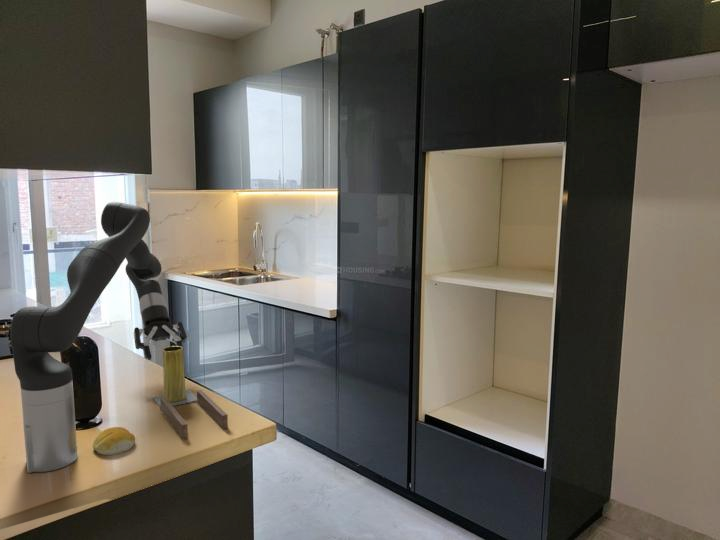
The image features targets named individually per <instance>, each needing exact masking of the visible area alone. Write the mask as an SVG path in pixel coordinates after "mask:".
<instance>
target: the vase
mask: <svg viewBox="0 0 720 540" xmlns="http://www.w3.org/2000/svg"><path fill="white" fill-rule="evenodd" d="M184 363H185V361H184V348H183V346H182V347H181V346H176V345H171V346H166V347H164V348H162V364H163V366H162V367H163V377H162V378H163V380H162V381H163V395H164V396H163V397H165V398H166V399H167V400H168V401H169V402H178V401H182V400H184V399H185V398H186V392H185V391H186V381H185V380H186V377H185V364H184Z"/></svg>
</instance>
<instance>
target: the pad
mask: <svg viewBox="0 0 720 540" xmlns="http://www.w3.org/2000/svg"><path fill="white" fill-rule="evenodd" d="M185 392H186V398H185V399H184V400H182V401H178V402H170V404H171V405H172V406H174V407H176V406H175V405H179V406H181V405H180V404H183V405H187V404H186V403H188V404H192V403H191V402H193V403H195V402H196V403H197V395H195V394H194V393H193V392H192V390H190V389H185ZM163 396H164V394H162V395H161V394H160V395H156V396H153V397H152V398H154V399H153V400H154V402H155V403H156V402H157V403H156V404H157V405H158V407H159V406H160V407H161V403H160V398H163ZM160 407H159V408H160Z"/></svg>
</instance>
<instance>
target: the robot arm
mask: <svg viewBox="0 0 720 540" xmlns="http://www.w3.org/2000/svg"><path fill="white" fill-rule="evenodd" d="M150 215H151V214H150V213H149V211H148V210H147V209H145V208H144V207H142V206H141V207H140V206H138V205H134V204H129V203H125V202H119V201H111V202H110V201H109V202H108V203H107V204H106V205H105V206H104V207H103V210H102V213H101V217H100V223H101V224H100V225H101V228H102V230H103V232H104V233H105V235H106V236H108V237H105V238H101V239H100V240H96V241H94V242H92V243H89V244H87V245H86V246H85V247H83V248H82V249H81V250H80V251H79V252H78V253H77V255H76V256H75V257H73V259H72V261H71V262H70V264H69V265H68V268H67V271H66V278H67V283H68V288H69V292H70V293H69V295H68V296H67V298H66V299H65V300H64V301H63V302H62V303H61V304H60V305H58V306H24V307H21V308H19V310H17V311H16V312H15V314H14V315H13V317H12V320H11V323H10V331H9V333H10V344H11V351H12V352H11V353H12V358H13V363H14V371H15V374H16V377H17V379H18V380H19V385H20V395H21V406H22V424H23V433H24V434H23V435H24V447H25V448H24V449H25V457H26V458H25V460H26V469H27V473H28V474H31V473H36V472H37V473H43V472H46V473H47V472H51V471H56V470H59V469H62V468H65V467H67V466H69V465H71V464H72V463H74V462H75V461H76V460H77V459H78V442H77V441H78V440H77V428H76V412H75V399H74V398H75V397H74V384H73V371H72V368H71V366H70V365H69V364H67V363H65V362H62V361H60V360H58V359H56V358H54V357H53V356H52V355H51V354H50V353H59V352H60V353H61V352H64V351H66V350H68V349H70V347H71V346H73V344H74V343H75V341H76V340H77V338H78V336H79V335H80V333H81V330H82V329H83V327H84V325H85V323H86V321H87V319H88V317H89V316H90V313H91V311H92V309H93V308H94V306H95V305H96V302H97V301H98V300H99V298H100V296H101V295H102V293H103V292H104V290H105V289H106V287H108V285H109V283H110V282H111V281H112V279H113V278H114V277H115V275H116V273H118V270H119V268H120V267H121V265H122V264H123V262H124V261H125V259H126V261H127V263H126V265H125V273H126V275H127V277H128V279H129V280H130V282H131V283H132V284H133V286H134V288H135V290H136V293H137V297H138V301H139V313H140V315H141V319H142V324H143V328H139V327H137V326H136V327H134V331H133V339H134V346H135V349H136V350H142V351H143V355H144V358H145V359H146V360H147V361H151V360H152V353H151V349H150V345H151V343H152V342H159V341H169V342H171V343H174V344H175V346H181V347H183V343H186V339H187V334H186V331H185V328H184V324H183V322H182V321H178V323H176V324H172V322H171V320H170V319H171V318H170V316H169V313H168V312H169V311H168V308H167V304H166V300H165V298H164V295H163V292H162V288H161V284H160V282H158V281H157V280H155V278H157V277H159V276H160V274H161V273H162V271H163V270H162V264H161V262H160V260H159V259H158V258H157V257H156V255H154V254H153V253H151V251H150V248H149V246H148V244H147V243H146V242H145V241H144V240H143V238H144V236H145V235H146V233H147V231H148V229H149V226H150V223H151V216H150ZM173 330H175V332H174V331H173ZM176 332H178V335H177V334H176ZM143 334H144V335H145V336H146V339H145V341H144V342H141V340H142V339H141V336H143Z"/></svg>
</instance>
